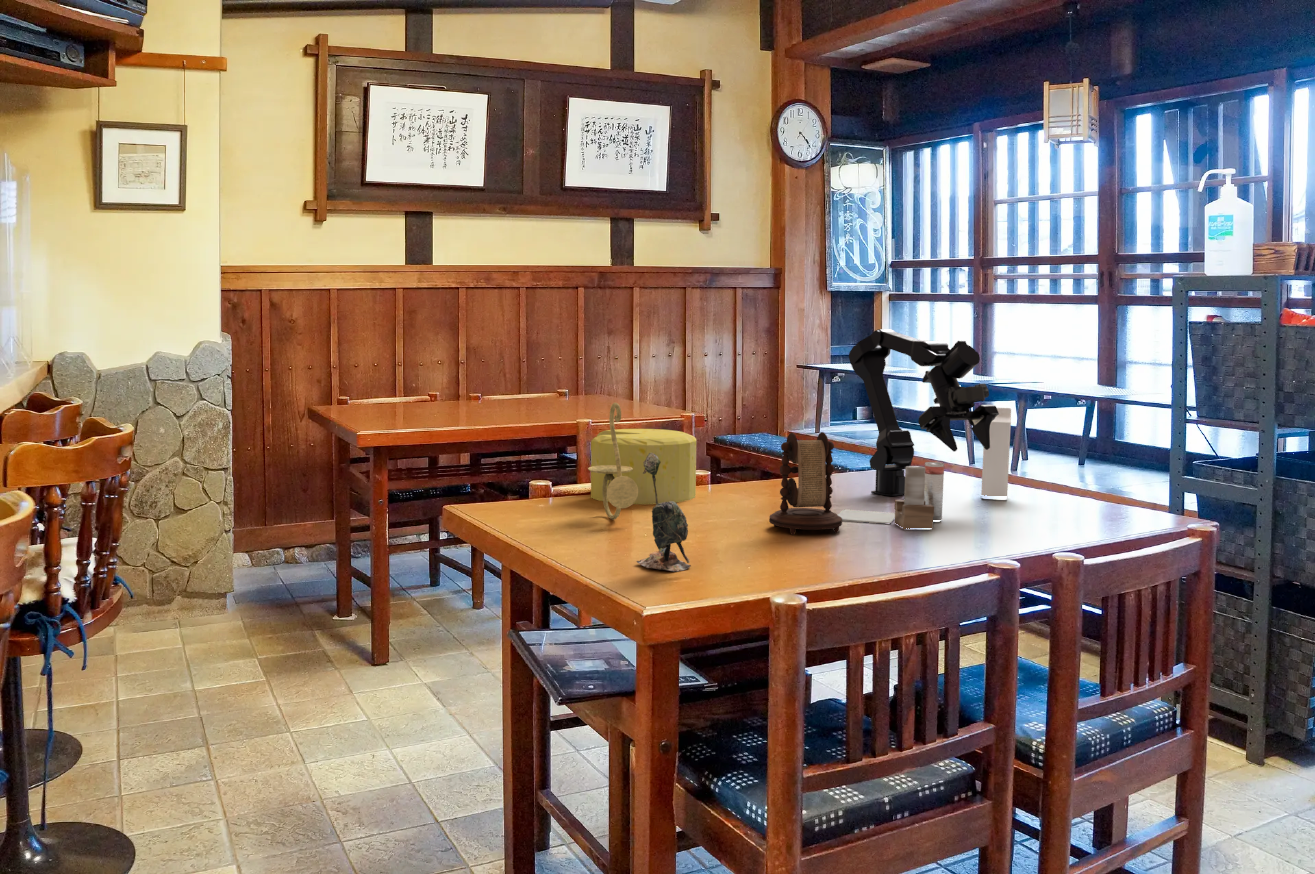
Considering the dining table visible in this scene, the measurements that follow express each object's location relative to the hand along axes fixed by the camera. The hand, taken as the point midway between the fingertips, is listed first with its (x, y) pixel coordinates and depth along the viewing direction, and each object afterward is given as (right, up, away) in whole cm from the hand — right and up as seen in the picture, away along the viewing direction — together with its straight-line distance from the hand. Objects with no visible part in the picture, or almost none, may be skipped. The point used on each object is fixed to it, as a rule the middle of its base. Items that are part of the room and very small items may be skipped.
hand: (972, 449), depth 243 cm
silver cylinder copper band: (-11, -15, -7) cm, 20 cm away
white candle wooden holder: (-16, -16, -14) cm, 27 cm away
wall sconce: (-79, -15, -10) cm, 81 cm away
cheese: (-73, -11, +22) cm, 77 cm away
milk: (+12, -12, +23) cm, 29 cm away
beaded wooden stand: (-39, -16, -18) cm, 46 cm away
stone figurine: (-68, -20, -54) cm, 89 cm away
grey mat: (-24, -15, -4) cm, 29 cm away
